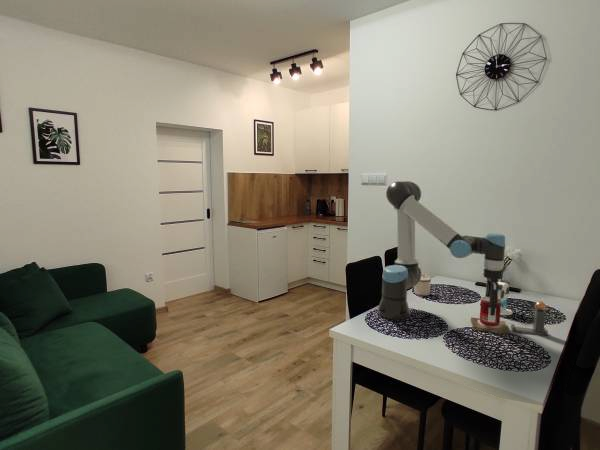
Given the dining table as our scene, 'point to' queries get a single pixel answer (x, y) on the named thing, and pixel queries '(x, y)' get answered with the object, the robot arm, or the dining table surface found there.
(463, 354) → the dining table surface
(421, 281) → the teacup with lid
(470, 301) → the dining table surface
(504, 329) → the plate
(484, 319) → the canned food
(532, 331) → the lever rail
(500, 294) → the panda figurine
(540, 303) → the press lever
